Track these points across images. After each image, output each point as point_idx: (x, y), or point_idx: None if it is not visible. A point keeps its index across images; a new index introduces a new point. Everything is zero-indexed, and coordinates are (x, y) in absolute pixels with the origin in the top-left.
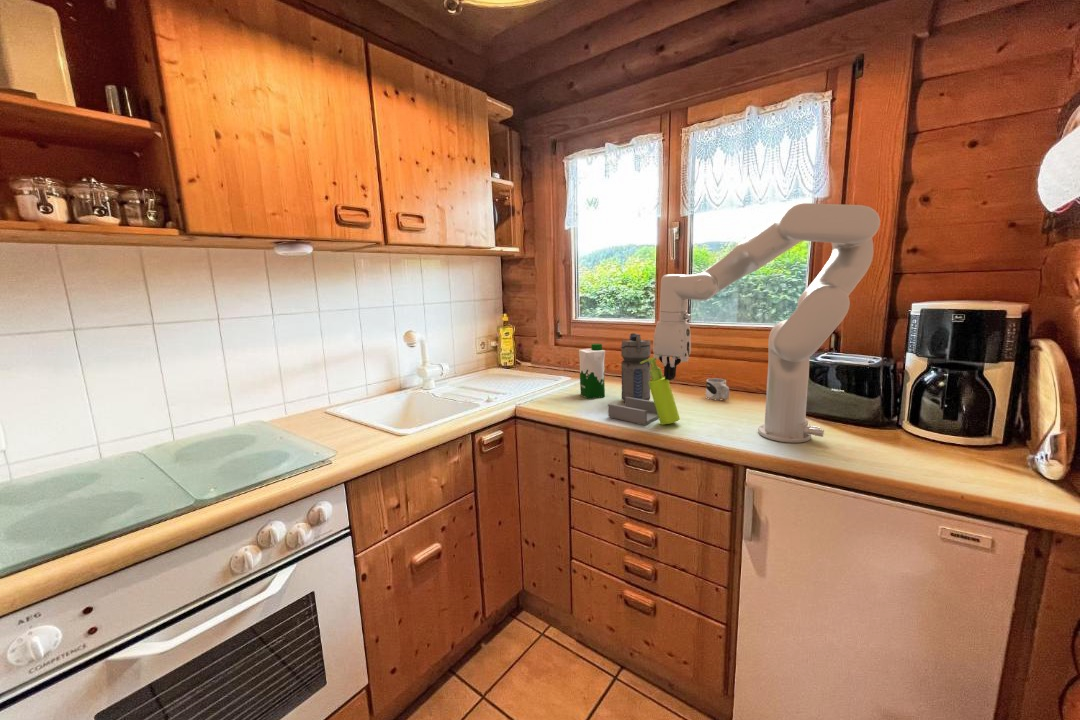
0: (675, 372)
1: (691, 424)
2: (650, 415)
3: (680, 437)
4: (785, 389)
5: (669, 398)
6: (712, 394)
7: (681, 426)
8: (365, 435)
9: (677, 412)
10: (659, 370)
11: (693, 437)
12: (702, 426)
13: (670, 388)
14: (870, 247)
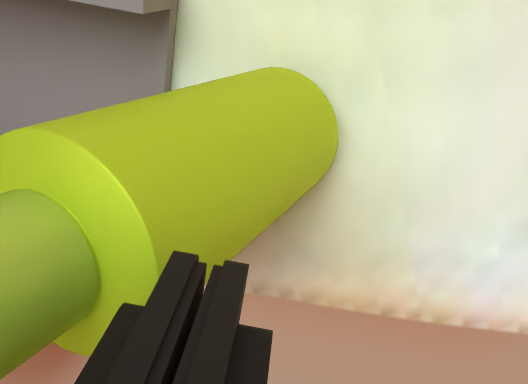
0: (266, 375)
1: (407, 72)
2: (123, 71)
3: (381, 303)
4: None
5: (256, 235)
6: None
7: (353, 138)
8: None
9: (321, 150)
10: (6, 363)
11: (445, 282)
12: (482, 83)
13: (231, 215)
14: None
